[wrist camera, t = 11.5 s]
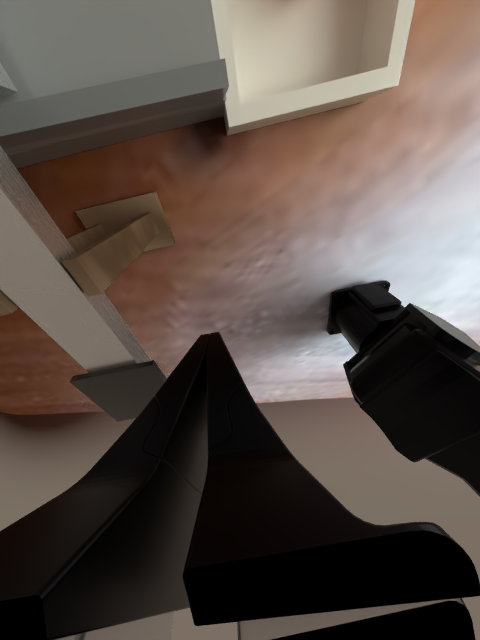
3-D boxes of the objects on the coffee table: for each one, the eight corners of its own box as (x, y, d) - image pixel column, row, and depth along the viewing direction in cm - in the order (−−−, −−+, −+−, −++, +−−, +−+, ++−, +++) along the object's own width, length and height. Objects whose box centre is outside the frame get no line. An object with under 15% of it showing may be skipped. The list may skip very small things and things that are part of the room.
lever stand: (175, 242, 18) (133, 312, 9) (109, 257, 19) (6, 338, 10) (156, 191, 16) (74, 219, 7) (80, 209, 16) (-93, 259, 7)
